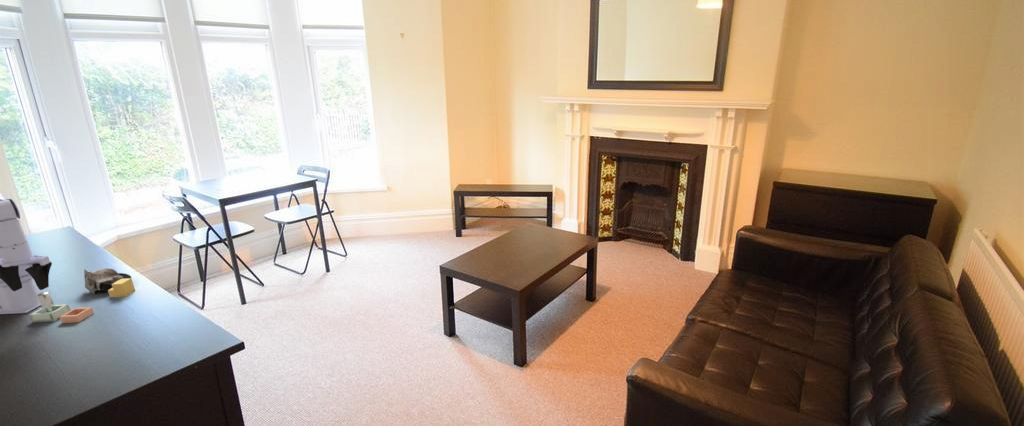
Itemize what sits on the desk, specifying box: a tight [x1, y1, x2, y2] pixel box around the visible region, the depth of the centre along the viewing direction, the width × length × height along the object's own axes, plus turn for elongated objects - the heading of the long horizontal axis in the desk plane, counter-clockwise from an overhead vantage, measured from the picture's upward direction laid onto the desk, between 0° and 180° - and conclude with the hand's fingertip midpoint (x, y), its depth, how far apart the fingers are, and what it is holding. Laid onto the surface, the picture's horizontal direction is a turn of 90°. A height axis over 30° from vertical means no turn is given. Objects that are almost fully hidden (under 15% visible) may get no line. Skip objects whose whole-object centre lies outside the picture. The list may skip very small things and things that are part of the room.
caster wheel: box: [83, 268, 132, 296], centre depth 155 cm, size 7×11×10 cm
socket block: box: [59, 306, 95, 324], centre depth 137 cm, size 5×5×2 cm
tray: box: [29, 303, 72, 323], centre depth 138 cm, size 6×5×2 cm
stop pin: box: [37, 291, 56, 313], centre depth 137 cm, size 3×3×7 cm
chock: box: [107, 277, 136, 298], centre depth 150 cm, size 5×4×4 cm
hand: (31, 288), depth 133 cm, fingers open, 7 cm apart
